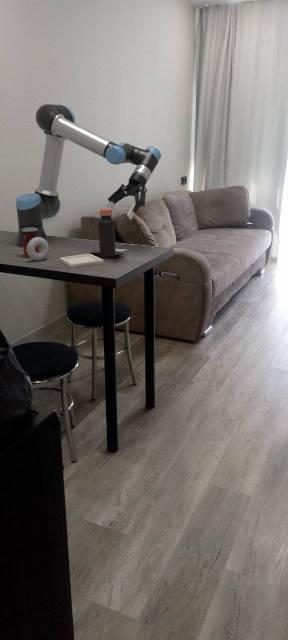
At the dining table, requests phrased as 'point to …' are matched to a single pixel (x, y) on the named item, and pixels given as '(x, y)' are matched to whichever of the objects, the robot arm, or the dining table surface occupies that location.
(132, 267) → the dining table surface
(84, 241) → the dining table surface
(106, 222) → the vinegar
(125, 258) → the dining table surface
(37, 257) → the donut
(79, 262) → the tray
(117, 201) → the robot arm
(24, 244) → the soda can
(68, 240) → the dining table surface
